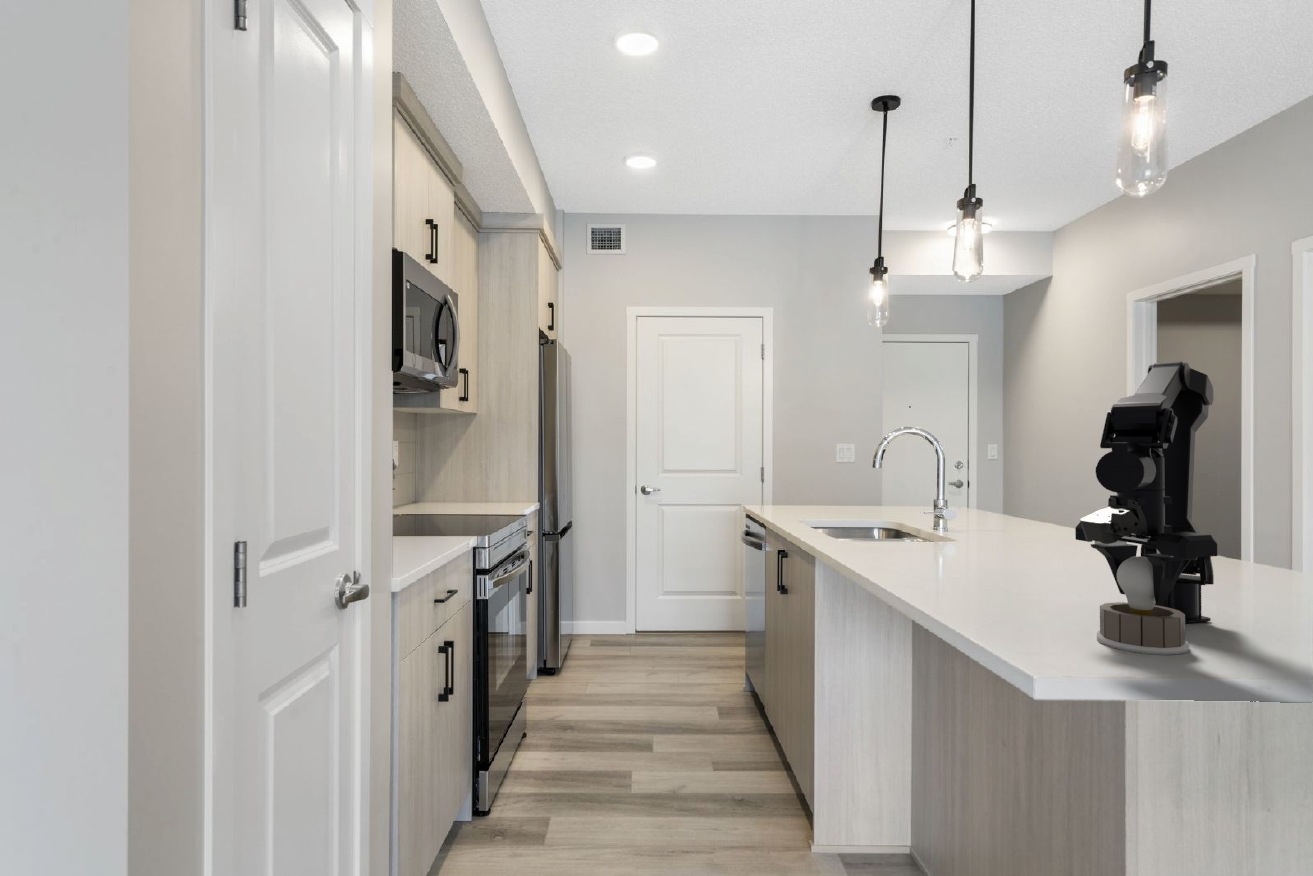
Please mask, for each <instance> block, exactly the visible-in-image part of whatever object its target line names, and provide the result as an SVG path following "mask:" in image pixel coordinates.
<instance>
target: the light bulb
mask: <svg viewBox="0 0 1313 876" xmlns="http://www.w3.org/2000/svg"><path fill="white" fill-rule="evenodd" d="M1117 581H1118V584H1119V586H1120V587H1121V589H1122V590H1123V592H1124V593H1125V594H1124V595H1125V597H1126V600H1127V603H1128V604H1129V606H1130V613H1131V614H1134V615H1141V616H1152V615H1153V614H1152V613H1153V608H1154V606H1155V603H1156V602H1155V596H1154V585H1153V566H1152V564H1151V563H1150V561H1149V560H1148V559H1147V558H1146V557H1142V556H1141V555H1140V556H1139V555H1136V557H1131V558H1128V559H1126V560H1125V561H1123V562H1122V563H1121V565H1120V566H1119V568H1118V570H1117Z"/></svg>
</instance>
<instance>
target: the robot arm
mask: <svg viewBox="0 0 1313 876" xmlns="http://www.w3.org/2000/svg"><path fill="white" fill-rule="evenodd" d="M1213 402H1214V387H1213V383H1212V382H1211V380H1210V377H1209V376H1208V374H1206V373H1204V372H1200V371H1198V370H1195V369H1193V368H1191V367H1190V365H1189V363H1188V362H1183V361H1182V360H1181V361H1180V360H1179V361H1167V362H1156V363H1153V364H1150V365H1149V366H1148V369H1147V375H1146V377H1145V378H1144V379H1143V381H1142V383H1141V384H1140V385H1139V387H1138V388H1137V390H1136V391H1135V393H1134V394H1133V395H1129V396H1126V397H1121V398H1120V399H1118V400H1117V401H1116V402H1115V403H1113V404H1112V406H1111V408H1110V409H1109V410H1107V413H1106V417H1105V422H1104V426H1103V432H1102V434H1101V435H1102V436H1101V440H1100V444H1099V447H1100V449H1111V451H1109V452H1107V453H1105V454H1103V455H1102V456H1101V457H1100V459H1099V460H1098V461H1097V465H1096V466H1095V477H1096V479H1097V481H1098V483H1099V484H1100V485H1101V486H1102V487H1103V488H1105V490H1108V491H1109V492H1113V493H1116V495H1115V494H1113V495H1109V498H1108V500H1107V502H1108V503H1107V504H1108V505H1107V507H1104V508H1100V509H1098V510H1096V511H1094V512H1092V513H1090V514H1087V515H1085V516H1083V517H1081V518H1079V523H1078V524H1077V525H1076V526H1075V527H1074V529H1075V532H1074V534H1075V540H1077V541H1081V542H1087V543H1090V547H1091V548H1092V549H1095V550H1096V551H1098V552H1099V553H1100V554H1101V555H1103V556H1104V559H1106V562H1107V564H1108V566H1109V568H1110V571H1111V573H1112V577H1113V578H1114V580H1115V584H1116V586H1117V588H1118V591H1119V594H1121V595H1125V593H1124V592H1123V590H1122V589H1121V587H1120V586H1119V584H1118V581H1117V570H1118V568H1119V566H1120V565H1121V563H1122V562H1123V561H1125V560H1126V559H1128V558H1131V557H1136V556H1137V553H1138V545H1141V546H1140V556H1142V557H1146V558H1147V559H1148V560H1149V561H1150V563H1151V564H1152V566H1153V585H1154V596H1155V602H1156V603H1155V605H1157V606H1163V607H1167V608H1171V609H1175V610H1179V611H1180V612H1182V613H1184V614H1185V624H1186V623H1187V624H1189V623H1199V622H1200V623H1202V622H1211V621H1212V620H1211V619H1212V618H1211V617H1209V616H1204V615H1202V586H1207V585H1214V584H1215V582H1214V581H1215V580H1214V577H1215V576H1214V575H1215V574H1214V568H1213V567H1214V566H1213V562H1212V557H1218V542H1217V539H1215V538H1214V536H1213V535H1211V534H1207V533H1200V531H1199V530H1198V527H1197V526H1196V525H1195V523H1194V522H1193V500H1194V499H1193V495H1194V476H1195V475H1194V473H1195V446H1196V444H1195V443H1196V432H1197V431H1198V430H1199V429H1200V428H1201V426H1202V425H1203V424H1204V422H1206V420H1207V419H1208V418H1209V407H1210V406H1212V405H1213ZM1093 541H1094V543H1091V542H1093ZM1197 574H1198V575H1197Z"/></svg>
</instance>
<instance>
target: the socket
mask: <svg viewBox="0 0 1313 876" xmlns="http://www.w3.org/2000/svg"><path fill="white" fill-rule="evenodd" d="M1152 614H1153V615H1152V616H1141V615H1134V614H1131V613H1130V606H1129V604H1128V602H1123V601H1120V602H1119V601H1117V602H1106V603H1103V604H1100V605H1099V630H1098V631H1097V632H1096V640H1097V641H1098V642H1099V643H1100V644H1102V645H1105V646H1107V647H1111V648H1114V649H1117V650H1121V651H1125V652H1126V651H1127V652H1132V653H1137V654H1138V653H1139V654H1149V655H1160V656H1164V655H1165V656H1169V655H1170V656H1173V655H1175V656H1176V655H1182V654H1185V653H1188V652H1189V651H1190V644H1189V642H1188V641H1187V640H1186V623H1185V614H1184V613H1182V612H1180V611H1179V610H1175V609H1171V608H1167V607H1163V606H1157V605H1155V606H1154V608H1153V613H1152Z"/></svg>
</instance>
